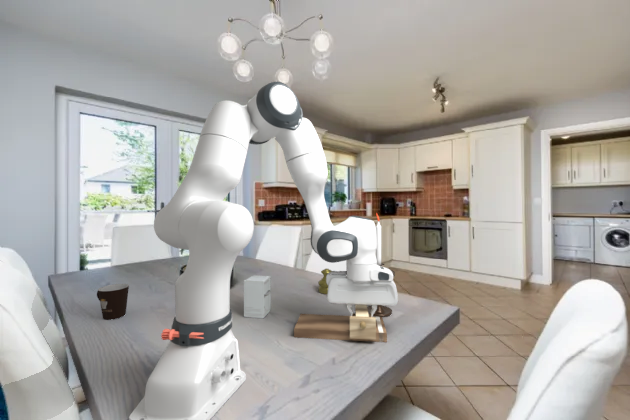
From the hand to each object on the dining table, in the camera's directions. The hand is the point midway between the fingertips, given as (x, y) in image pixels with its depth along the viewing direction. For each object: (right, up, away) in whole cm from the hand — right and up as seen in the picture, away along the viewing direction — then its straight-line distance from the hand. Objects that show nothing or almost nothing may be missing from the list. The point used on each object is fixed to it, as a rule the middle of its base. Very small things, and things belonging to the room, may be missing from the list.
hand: (361, 318), depth 81 cm
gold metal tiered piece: (-9, -4, +40) cm, 41 cm away
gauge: (0, -3, -1) cm, 3 cm away
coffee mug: (-84, -5, +15) cm, 86 cm away
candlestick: (+9, -4, +16) cm, 19 cm away
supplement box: (-34, -5, +16) cm, 37 cm away
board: (-6, -5, +2) cm, 8 cm away
